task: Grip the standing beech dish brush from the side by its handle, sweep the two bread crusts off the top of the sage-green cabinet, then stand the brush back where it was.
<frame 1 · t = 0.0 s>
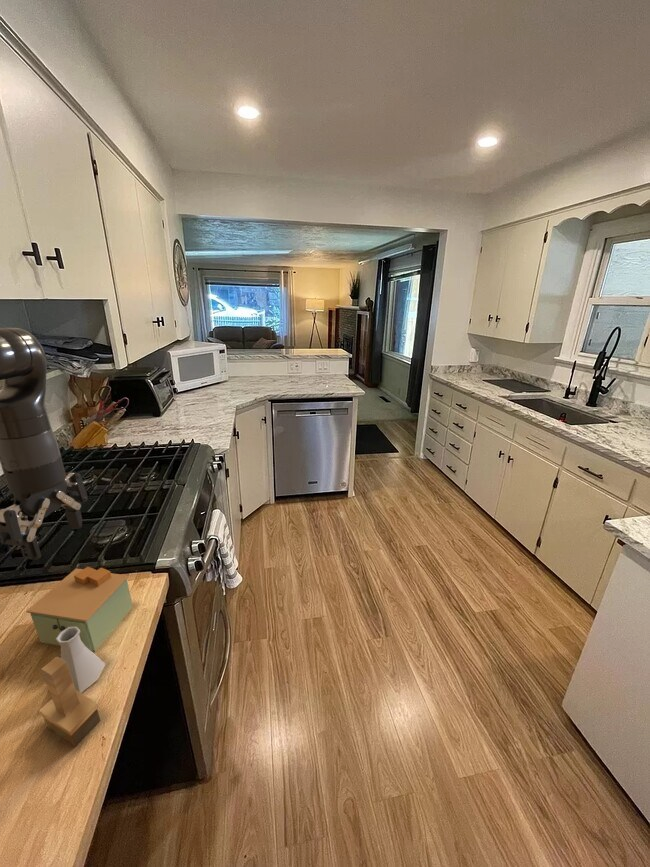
hand: (56, 542, 63), 23 cm above the countertop, tool pointing down, fingers open, 8 cm apart
brush: (74, 723, 56), on the countertop
crust b: (100, 579, 74), point 8 cm above the countertop, touching cabinet
flask: (81, 676, 64), on the countertop
crust a: (86, 578, 75), point 8 cm above the countertop, touching cabinet
cabinet: (89, 623, 74), on the countertop
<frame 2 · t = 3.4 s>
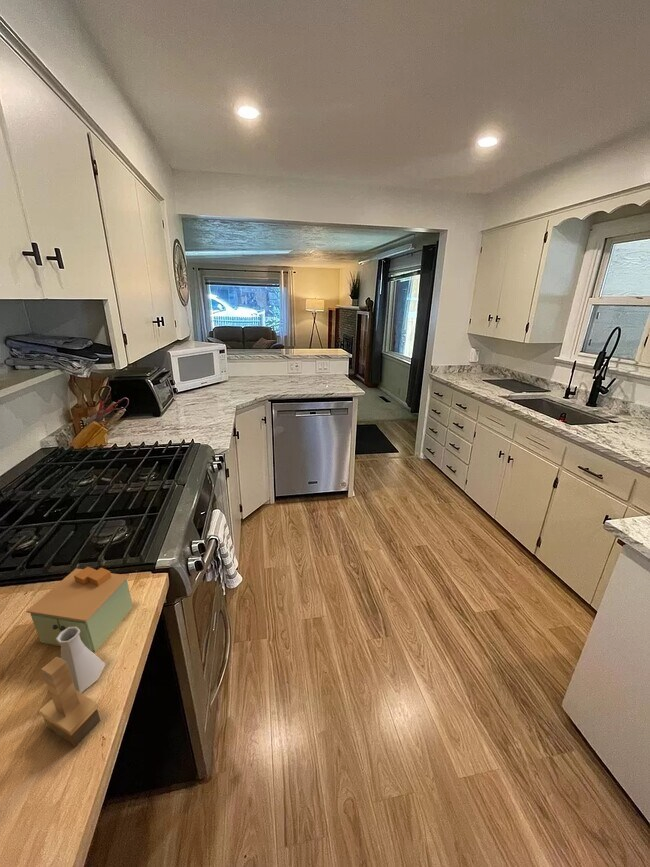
nothing on the countertop moved.
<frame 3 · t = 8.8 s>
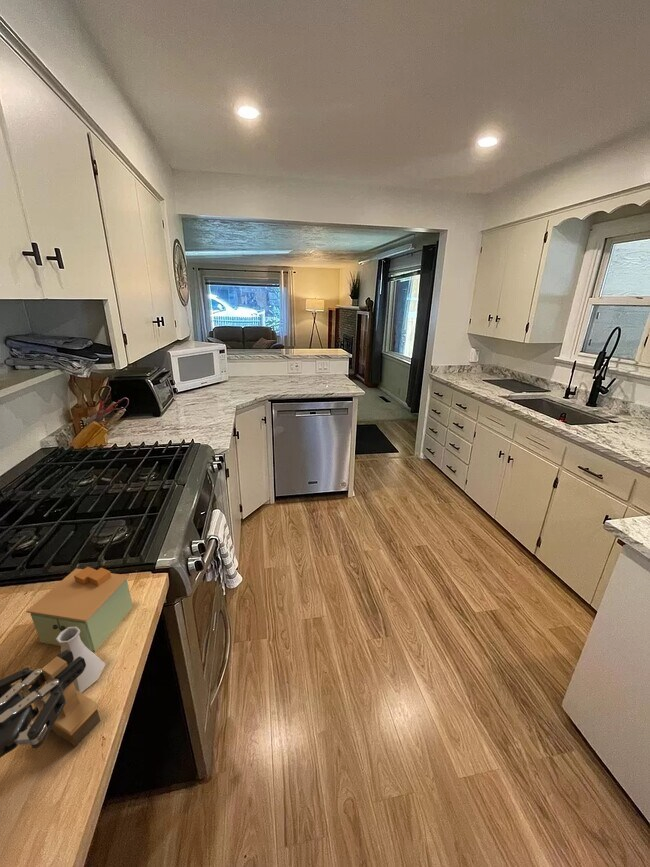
hand: (76, 657, 55), 11 cm above the countertop, tool horizontal, fingers closed on brush, 2 cm apart
brush: (74, 723, 56), on the countertop, touching gripper
everything else where it was.
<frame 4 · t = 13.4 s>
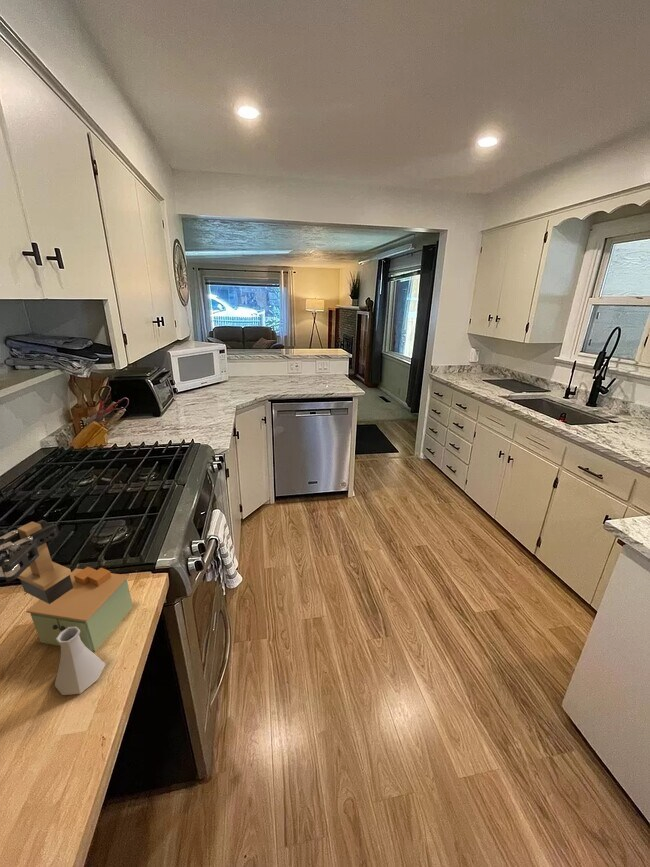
hand: (51, 527, 61), 27 cm above the countertop, tool horizontal, fingers closed on brush
brush: (49, 589, 62), point 16 cm above the countertop, touching gripper
everything else where it was.
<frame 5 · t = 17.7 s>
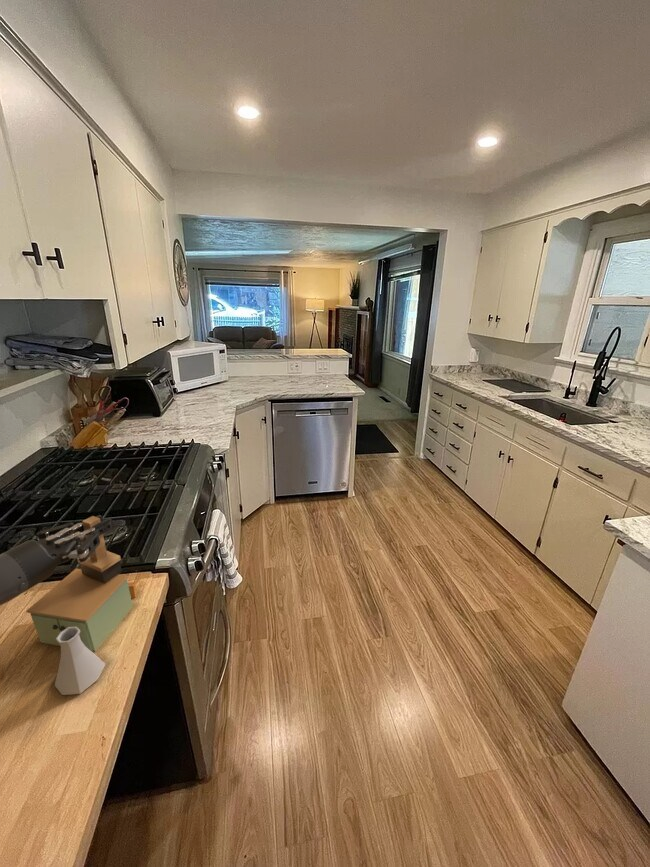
hand: (106, 520, 75), 20 cm above the countertop, tool horizontal, fingers closed on brush
brush: (102, 572, 76), point 9 cm above the countertop, touching gripper
crust b: (127, 592, 80), point 2 cm above the countertop, tilted 96°
crust a: (116, 585, 82), point 2 cm above the countertop, tilted 180°
everything else where it was.
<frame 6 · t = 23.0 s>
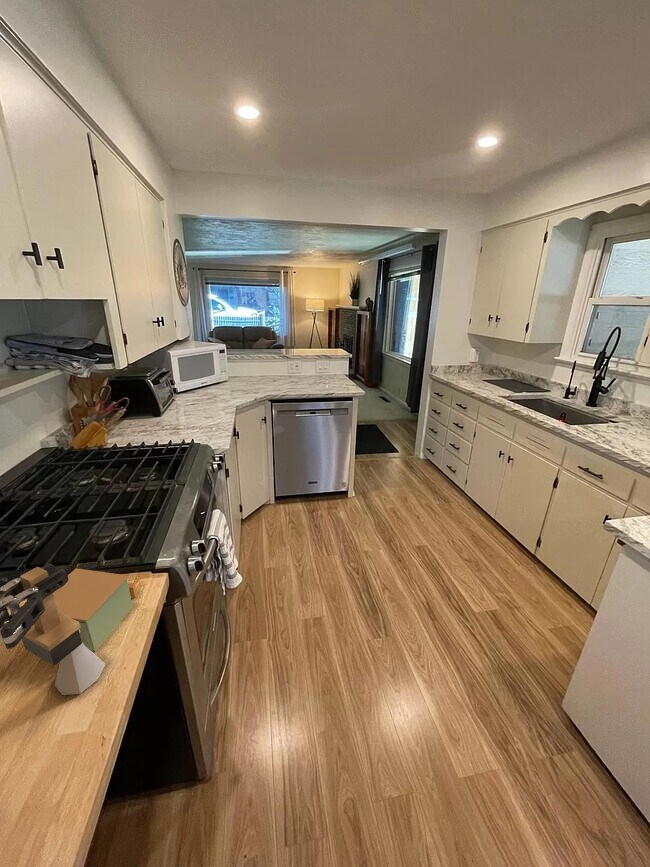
hand: (58, 572, 52), 26 cm above the countertop, tool horizontal, fingers closed on brush
brush: (53, 646, 53), point 15 cm above the countertop, touching gripper
crust b: (127, 593, 80), point 1 cm above the countertop, tilted 90°
everything else where it was.
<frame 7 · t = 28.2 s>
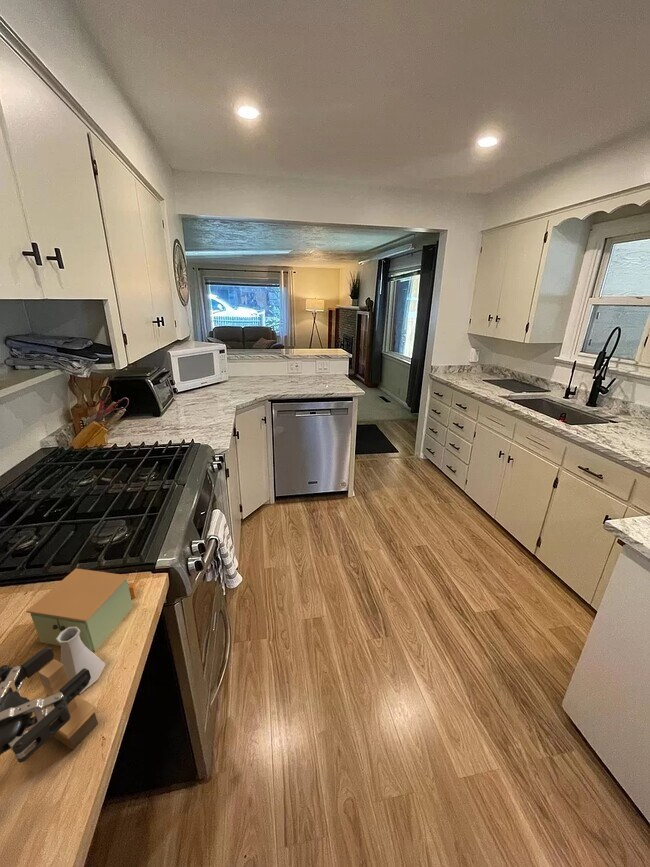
hand: (69, 661, 54), 11 cm above the countertop, tool horizontal, fingers open, 8 cm apart
brush: (71, 727, 56), on the countertop
everything else where it was.
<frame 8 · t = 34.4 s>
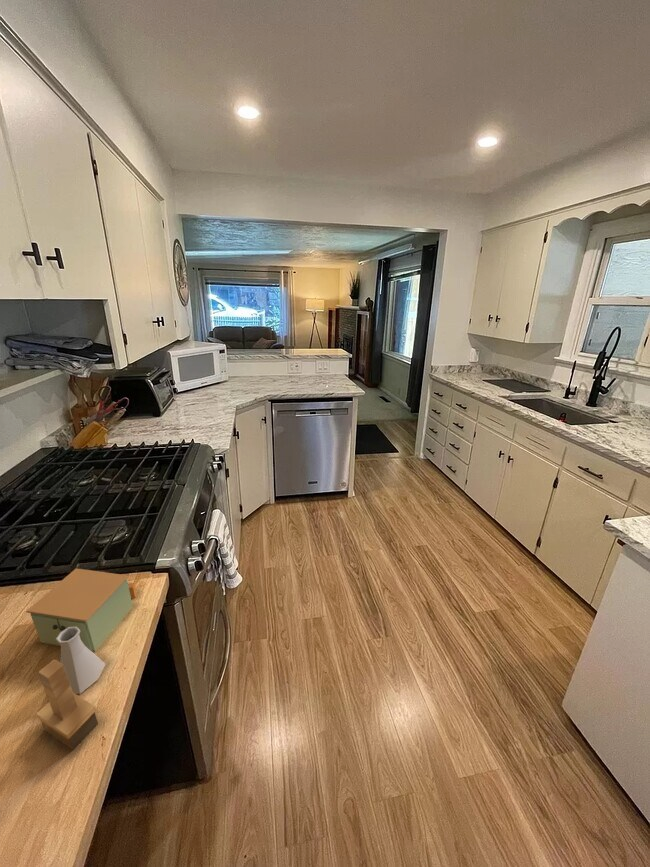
nothing on the countertop moved.
at the end: crust a point 1.5 cm above the countertop; crust b point 1.5 cm above the countertop; brush inside the target area (0.5 cm from its centre), on the countertop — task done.
